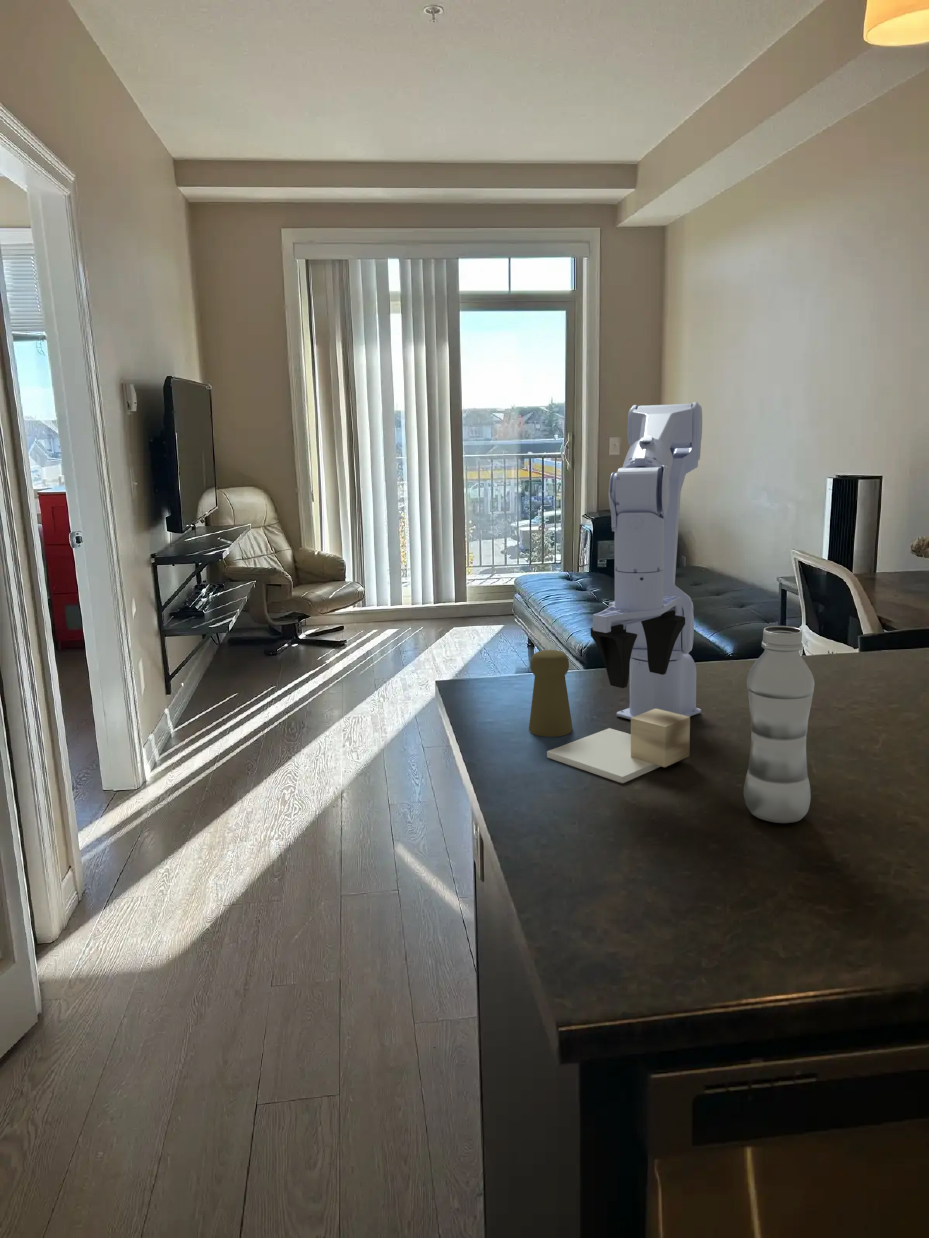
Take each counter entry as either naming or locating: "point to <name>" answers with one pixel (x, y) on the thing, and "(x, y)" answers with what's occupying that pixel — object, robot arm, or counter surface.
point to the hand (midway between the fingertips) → (638, 679)
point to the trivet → (603, 756)
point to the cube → (660, 737)
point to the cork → (550, 695)
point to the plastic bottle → (779, 728)
